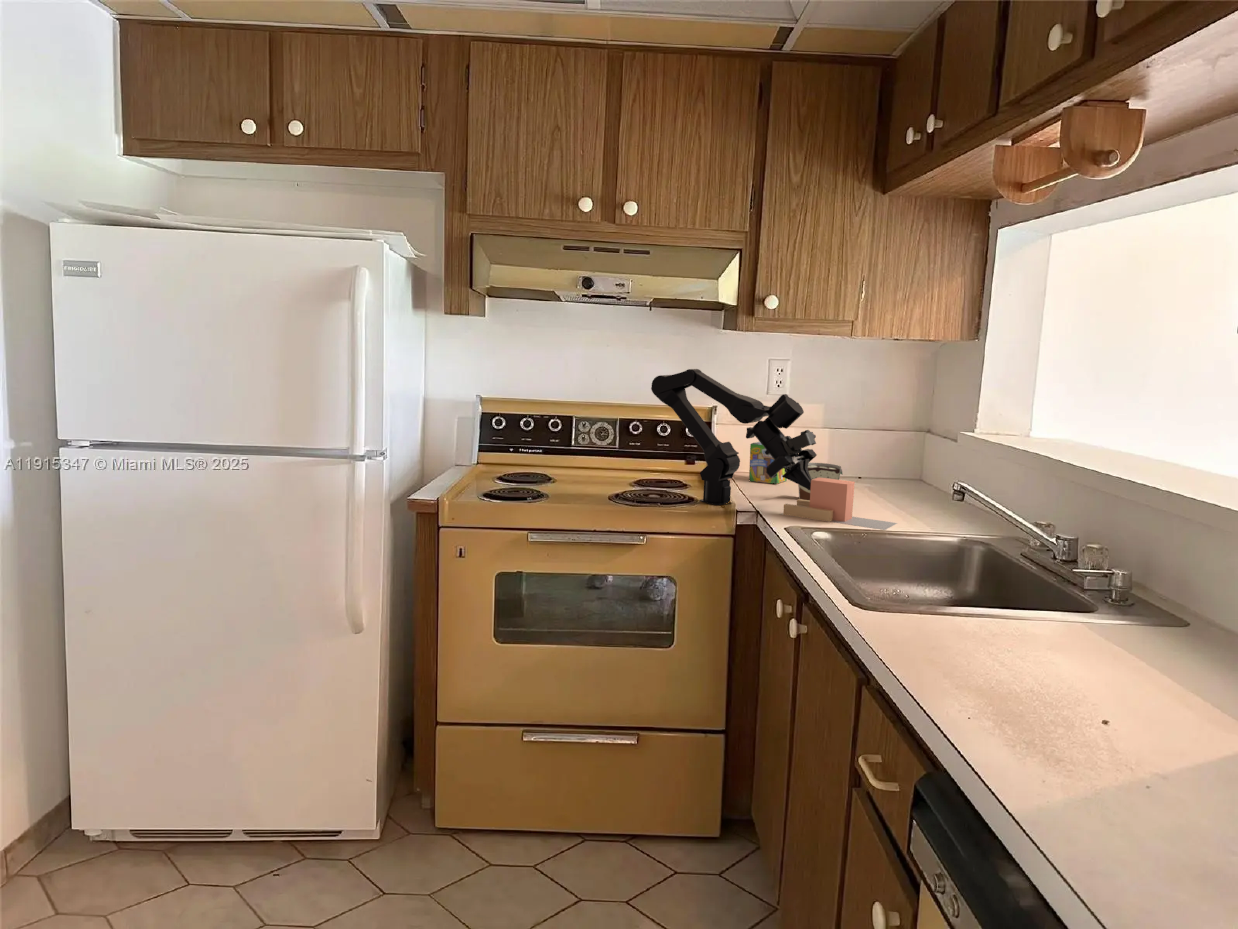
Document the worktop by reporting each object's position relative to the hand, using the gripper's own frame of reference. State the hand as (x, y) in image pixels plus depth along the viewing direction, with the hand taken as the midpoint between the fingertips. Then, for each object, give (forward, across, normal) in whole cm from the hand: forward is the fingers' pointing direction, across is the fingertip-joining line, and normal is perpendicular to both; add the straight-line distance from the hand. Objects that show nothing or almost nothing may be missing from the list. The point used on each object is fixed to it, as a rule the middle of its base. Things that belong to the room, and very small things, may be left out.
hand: (813, 489), depth 220 cm
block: (+8, 0, +1) cm, 8 cm away
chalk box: (-17, +42, +27) cm, 52 cm away
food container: (0, +22, +10) cm, 24 cm away
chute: (+9, 0, 0) cm, 9 cm away
